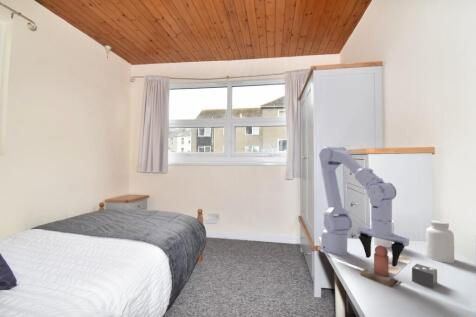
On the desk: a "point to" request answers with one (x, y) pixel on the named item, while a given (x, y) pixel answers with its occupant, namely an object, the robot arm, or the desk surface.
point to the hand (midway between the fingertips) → (381, 261)
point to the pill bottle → (440, 242)
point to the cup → (383, 242)
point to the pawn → (381, 261)
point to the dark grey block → (424, 275)
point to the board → (388, 280)
